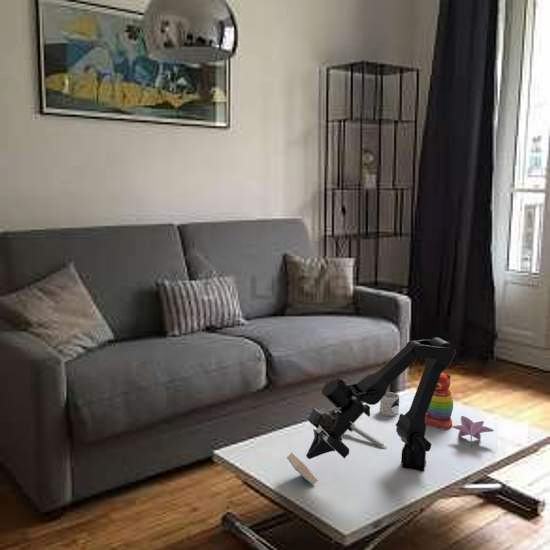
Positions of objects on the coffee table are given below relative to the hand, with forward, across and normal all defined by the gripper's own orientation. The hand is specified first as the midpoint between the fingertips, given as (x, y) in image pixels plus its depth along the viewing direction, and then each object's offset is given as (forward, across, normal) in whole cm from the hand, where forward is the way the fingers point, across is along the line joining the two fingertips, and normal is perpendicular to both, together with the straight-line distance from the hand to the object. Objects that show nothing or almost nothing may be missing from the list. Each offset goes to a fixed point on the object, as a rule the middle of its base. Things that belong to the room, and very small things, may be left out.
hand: (307, 457), depth 177 cm
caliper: (-14, -22, +24) cm, 35 cm away
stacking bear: (-37, -27, +46) cm, 65 cm away
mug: (-29, -40, +38) cm, 62 cm away
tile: (+3, 0, +5) cm, 6 cm away
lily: (-38, -9, +47) cm, 61 cm away
